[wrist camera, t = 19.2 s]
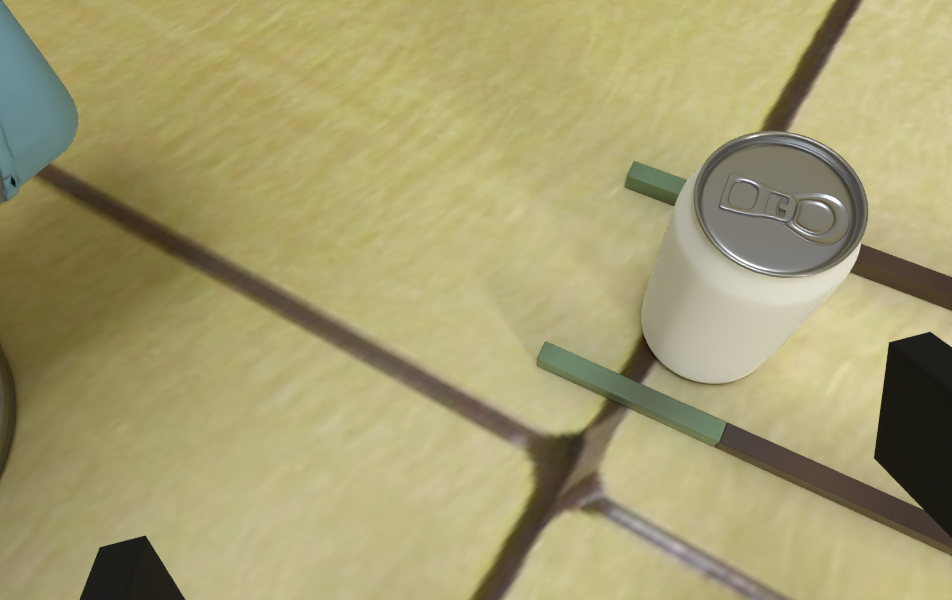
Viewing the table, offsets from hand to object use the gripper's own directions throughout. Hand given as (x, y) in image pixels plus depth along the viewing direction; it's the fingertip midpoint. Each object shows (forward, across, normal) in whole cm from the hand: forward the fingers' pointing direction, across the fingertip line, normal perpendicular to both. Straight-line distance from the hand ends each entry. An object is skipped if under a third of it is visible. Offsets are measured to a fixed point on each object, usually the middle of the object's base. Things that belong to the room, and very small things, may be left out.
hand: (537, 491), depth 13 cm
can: (+19, +12, -11) cm, 25 cm away
